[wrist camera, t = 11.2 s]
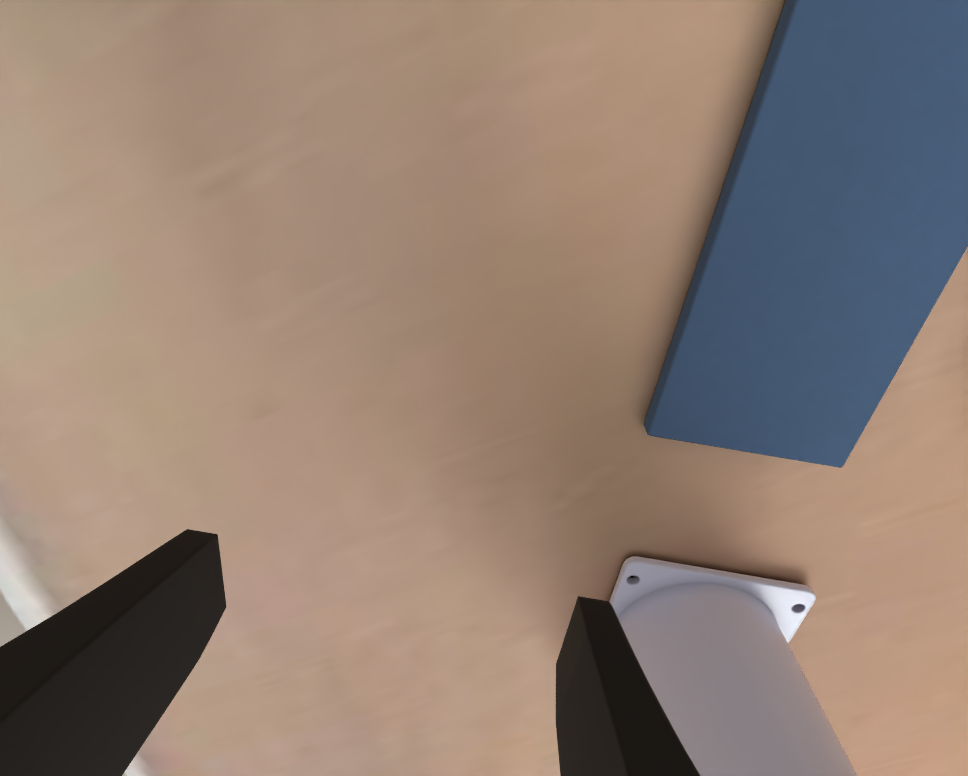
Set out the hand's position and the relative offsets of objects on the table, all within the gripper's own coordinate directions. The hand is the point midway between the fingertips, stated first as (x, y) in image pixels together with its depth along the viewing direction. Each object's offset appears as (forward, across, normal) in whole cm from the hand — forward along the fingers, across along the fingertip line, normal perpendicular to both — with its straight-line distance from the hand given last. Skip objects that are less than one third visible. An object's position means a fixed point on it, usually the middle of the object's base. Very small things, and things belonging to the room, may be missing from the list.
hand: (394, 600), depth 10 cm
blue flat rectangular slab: (+9, -10, -7) cm, 16 cm away
